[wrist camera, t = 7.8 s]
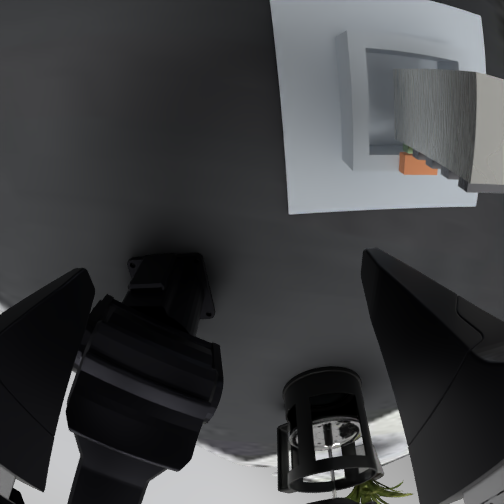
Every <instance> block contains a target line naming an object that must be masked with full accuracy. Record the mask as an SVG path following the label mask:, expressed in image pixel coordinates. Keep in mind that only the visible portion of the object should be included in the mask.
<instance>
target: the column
mask: <svg viewBox="0 0 504 504" xmlns="http://www.w3.org/2000/svg"><path fill="white" fill-rule="evenodd" d="M393 79H394V139H396V140H398V141H400V142H402V143H403V151H405V152H406V153H409V154H413V157H414V158H416V159H418V160H426V165H427V166H429V167H430V168H432V169H441V175H443V176H444V177H445V178H447V179H453V180H459V181H458V187H460V188H461V189H463V190H464V191H465V192H467V193H504V80H503V79H500V78H497V77H493V76H490V75H486V74H482V73H478V72H472V71H460V70H443V69H393Z"/></svg>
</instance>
